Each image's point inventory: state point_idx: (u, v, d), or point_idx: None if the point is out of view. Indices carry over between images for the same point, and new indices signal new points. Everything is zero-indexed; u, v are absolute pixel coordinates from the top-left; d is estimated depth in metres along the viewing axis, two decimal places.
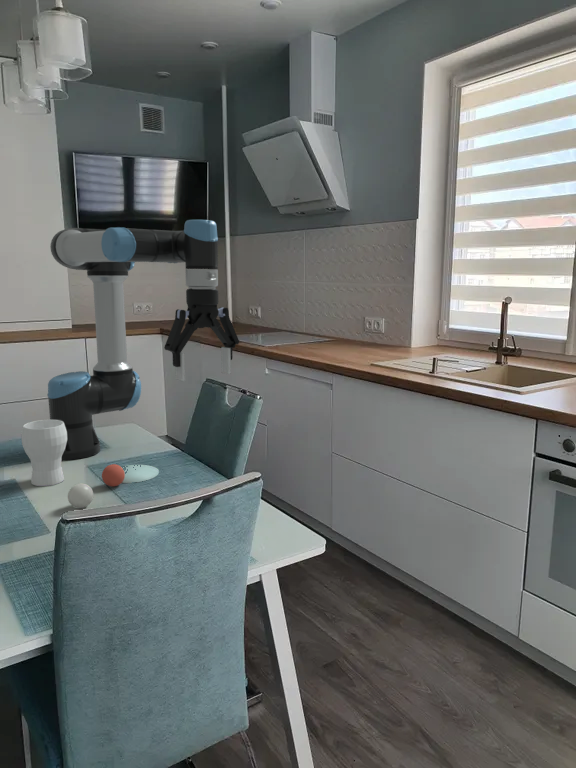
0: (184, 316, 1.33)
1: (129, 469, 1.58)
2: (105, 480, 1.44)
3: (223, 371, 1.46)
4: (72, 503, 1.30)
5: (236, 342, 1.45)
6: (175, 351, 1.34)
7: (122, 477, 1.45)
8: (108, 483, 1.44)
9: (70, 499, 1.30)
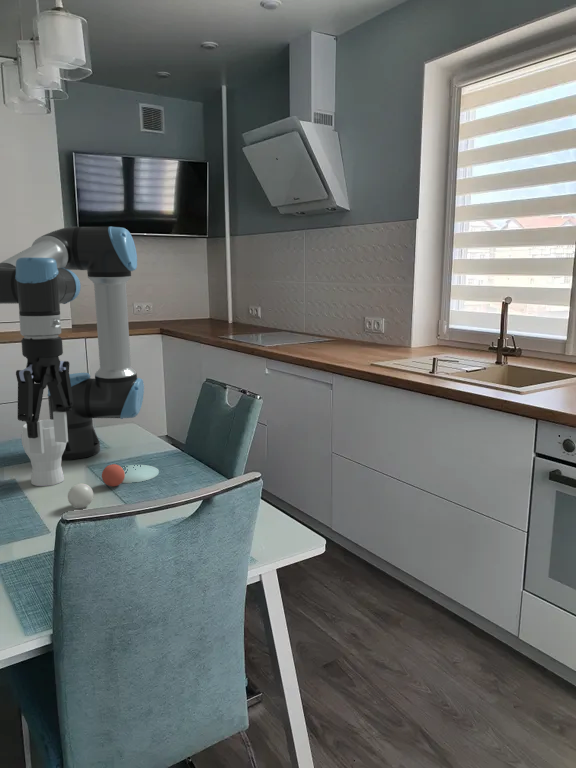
0: (30, 377, 1.12)
1: (129, 469, 1.58)
2: (105, 480, 1.44)
3: (57, 439, 1.24)
4: (72, 503, 1.30)
5: (71, 403, 1.25)
6: (32, 421, 1.14)
7: (122, 477, 1.45)
8: (108, 483, 1.44)
9: (70, 499, 1.30)
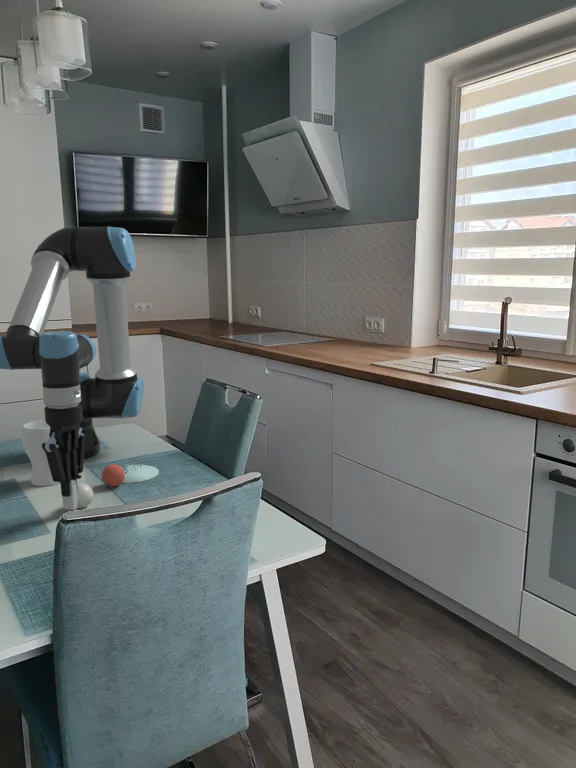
0: (56, 448, 1.21)
1: (129, 469, 1.58)
2: (105, 480, 1.44)
3: None
4: None
5: (80, 470, 1.30)
6: (66, 482, 1.26)
7: (122, 477, 1.45)
8: (108, 483, 1.44)
9: None
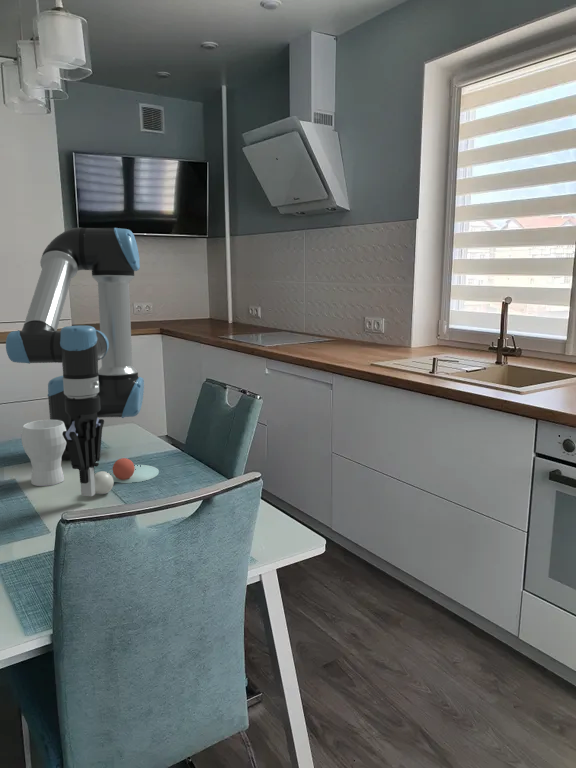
0: (76, 436, 1.27)
1: None
2: None
3: None
4: None
5: (97, 458, 1.36)
6: (85, 470, 1.32)
7: (132, 468, 1.50)
8: (121, 459, 1.49)
9: None
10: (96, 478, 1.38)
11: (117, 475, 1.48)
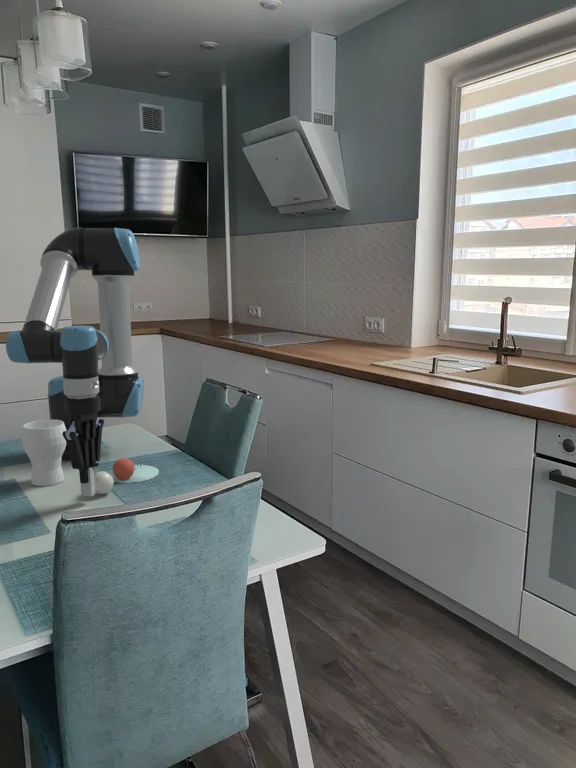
0: (76, 436, 1.27)
1: None
2: None
3: None
4: None
5: (97, 458, 1.36)
6: (85, 470, 1.32)
7: (132, 468, 1.50)
8: (121, 459, 1.49)
9: None
10: (96, 478, 1.38)
11: (117, 475, 1.48)
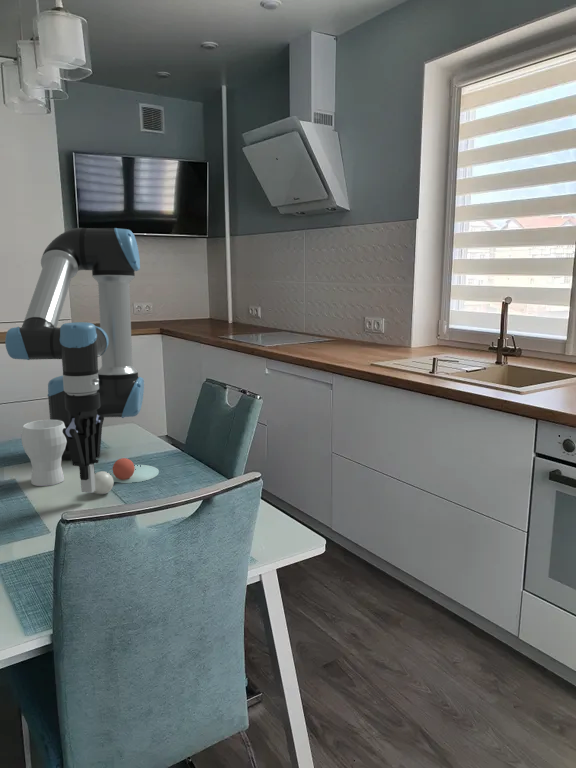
0: (76, 433, 1.27)
1: None
2: None
3: None
4: None
5: (97, 455, 1.36)
6: (85, 466, 1.32)
7: (132, 468, 1.50)
8: (121, 459, 1.49)
9: None
10: (96, 478, 1.38)
11: (117, 475, 1.48)
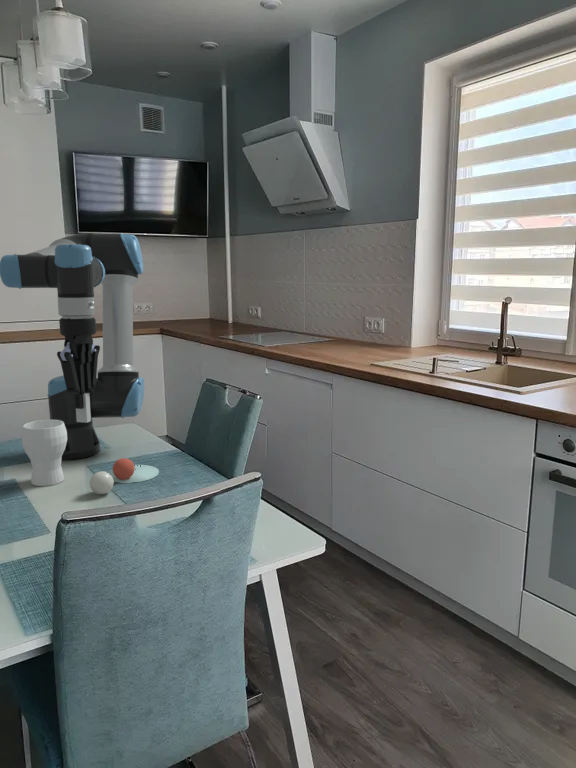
0: (70, 356, 1.24)
1: None
2: None
3: None
4: None
5: (93, 385, 1.33)
6: (80, 394, 1.29)
7: (132, 468, 1.50)
8: (121, 459, 1.49)
9: None
10: (96, 478, 1.38)
11: (117, 475, 1.48)
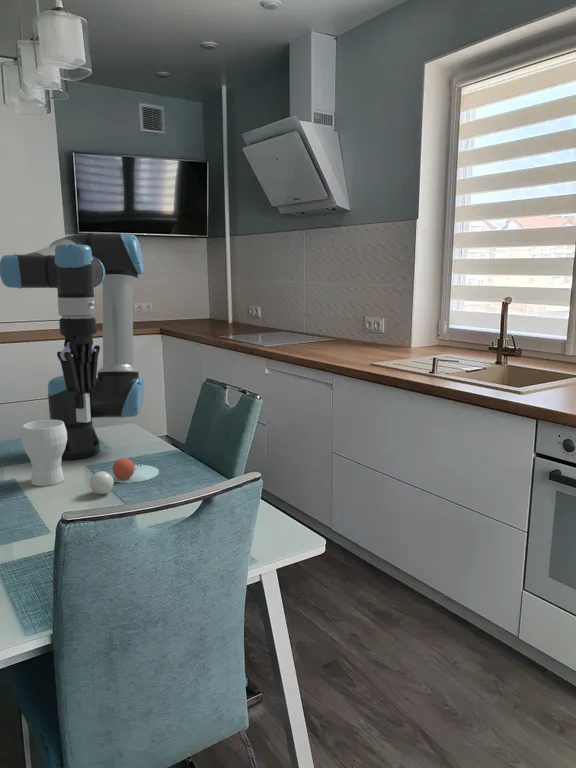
0: (70, 356, 1.24)
1: None
2: None
3: None
4: None
5: (93, 385, 1.33)
6: (80, 394, 1.29)
7: (132, 468, 1.50)
8: (121, 459, 1.49)
9: None
10: (96, 478, 1.38)
11: (117, 475, 1.48)
